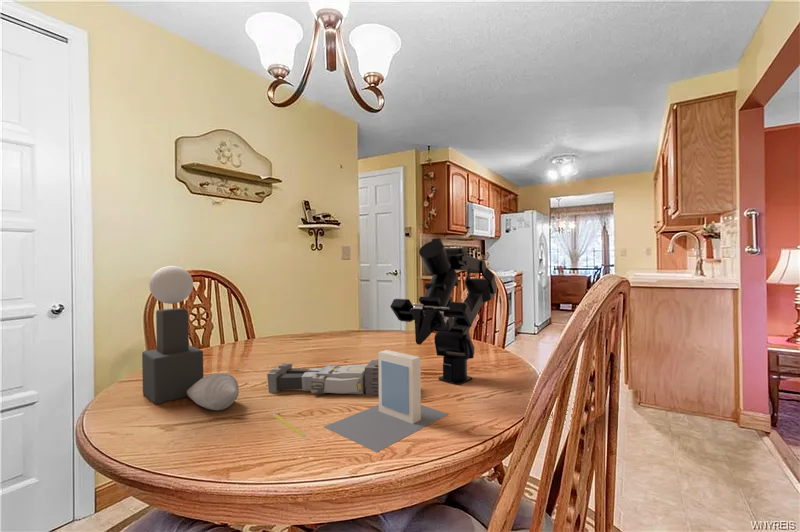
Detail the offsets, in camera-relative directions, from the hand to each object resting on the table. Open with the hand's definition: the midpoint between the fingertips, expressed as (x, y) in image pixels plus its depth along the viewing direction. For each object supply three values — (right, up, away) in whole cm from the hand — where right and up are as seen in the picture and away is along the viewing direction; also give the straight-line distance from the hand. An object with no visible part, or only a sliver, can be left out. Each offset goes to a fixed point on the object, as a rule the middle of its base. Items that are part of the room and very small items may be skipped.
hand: (417, 343), depth 81 cm
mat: (-6, -13, -8) cm, 17 cm away
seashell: (-45, -14, +1) cm, 47 cm away
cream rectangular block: (-4, -13, -6) cm, 15 cm away
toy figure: (-19, -14, +10) cm, 26 cm away
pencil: (-24, -14, -11) cm, 30 cm away
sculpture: (-57, -14, +8) cm, 59 cm away
